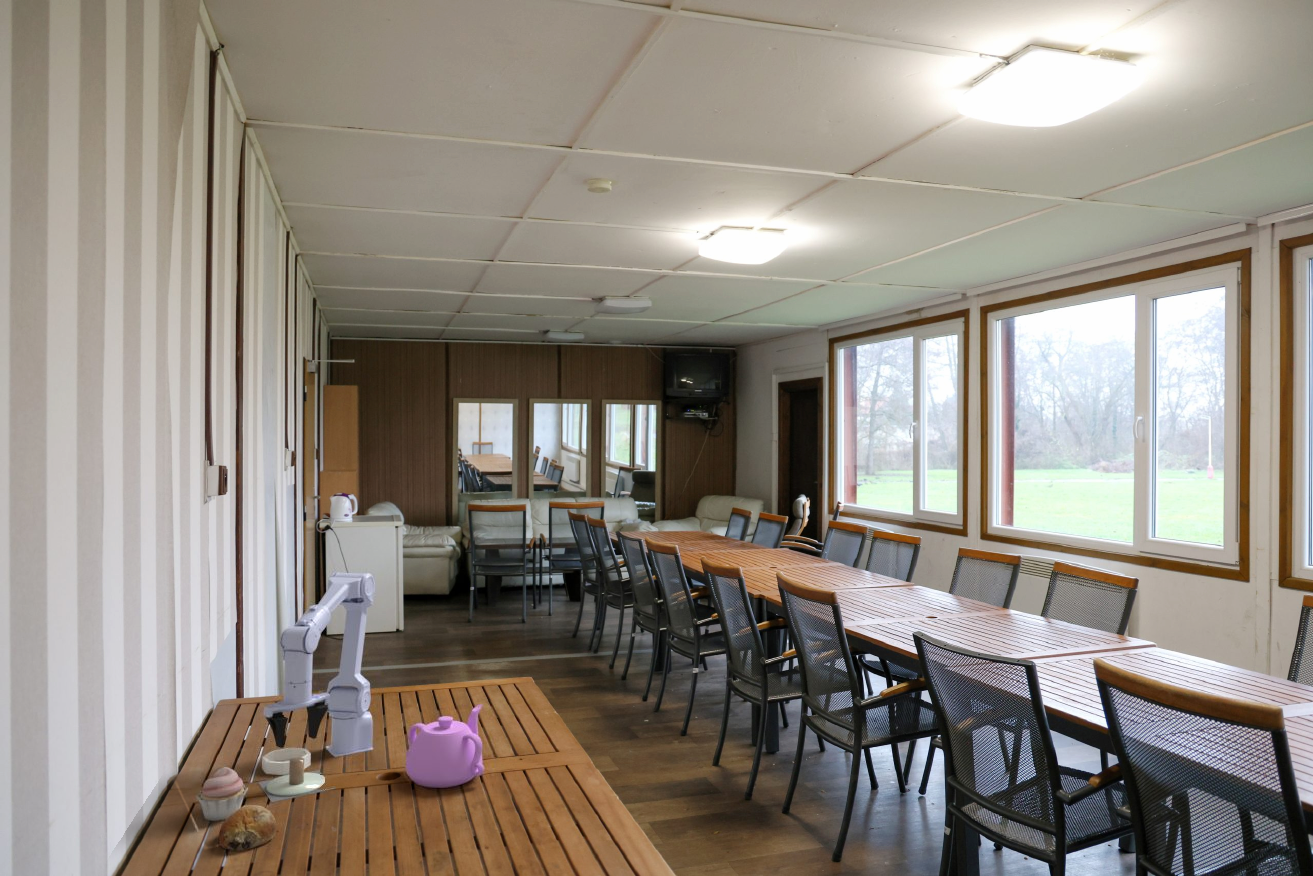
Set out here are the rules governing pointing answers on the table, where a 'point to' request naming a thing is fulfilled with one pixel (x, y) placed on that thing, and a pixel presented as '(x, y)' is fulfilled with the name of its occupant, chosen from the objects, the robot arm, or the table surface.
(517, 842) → the table surface
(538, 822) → the table surface
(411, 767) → the teapot
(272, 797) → the mat
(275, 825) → the bread roll
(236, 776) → the cupcake
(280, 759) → the bowl
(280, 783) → the lid
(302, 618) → the robot arm
